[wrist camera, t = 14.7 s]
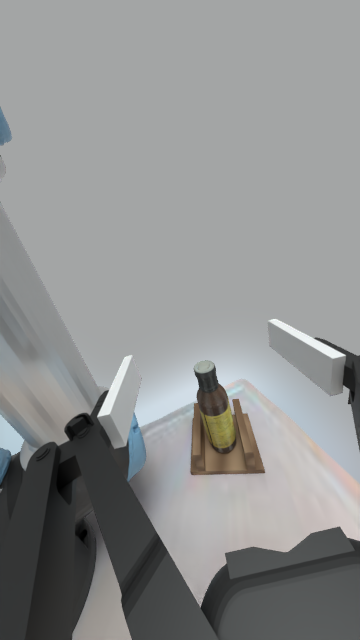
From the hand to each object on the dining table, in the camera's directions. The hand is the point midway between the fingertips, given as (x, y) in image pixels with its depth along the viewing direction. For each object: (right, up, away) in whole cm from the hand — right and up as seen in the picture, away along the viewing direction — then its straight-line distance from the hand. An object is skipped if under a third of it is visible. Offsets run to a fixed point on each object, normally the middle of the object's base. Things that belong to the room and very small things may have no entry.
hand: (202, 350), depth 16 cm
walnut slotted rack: (+8, -25, +22) cm, 34 cm away
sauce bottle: (+7, -24, +22) cm, 34 cm away
